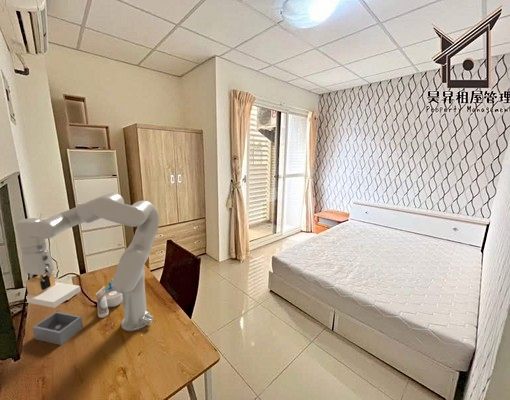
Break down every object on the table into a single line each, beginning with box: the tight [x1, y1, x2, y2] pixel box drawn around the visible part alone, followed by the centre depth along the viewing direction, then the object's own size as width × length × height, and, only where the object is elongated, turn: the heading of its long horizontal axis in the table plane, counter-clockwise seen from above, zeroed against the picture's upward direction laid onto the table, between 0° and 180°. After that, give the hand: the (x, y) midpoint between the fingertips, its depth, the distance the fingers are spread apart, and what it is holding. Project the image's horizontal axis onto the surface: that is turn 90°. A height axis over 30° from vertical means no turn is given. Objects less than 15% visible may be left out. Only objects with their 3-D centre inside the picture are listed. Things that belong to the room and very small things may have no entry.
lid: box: [25, 273, 82, 309], centre depth 98 cm, size 15×11×8 cm
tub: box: [32, 311, 84, 346], centre depth 102 cm, size 14×10×6 cm
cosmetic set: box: [95, 285, 123, 318], centre depth 121 cm, size 25×9×19 cm, turn 1°
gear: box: [105, 279, 113, 292], centre depth 132 cm, size 11×6×10 cm
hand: (41, 286), depth 99 cm, fingers closed on lid, 4 cm apart
